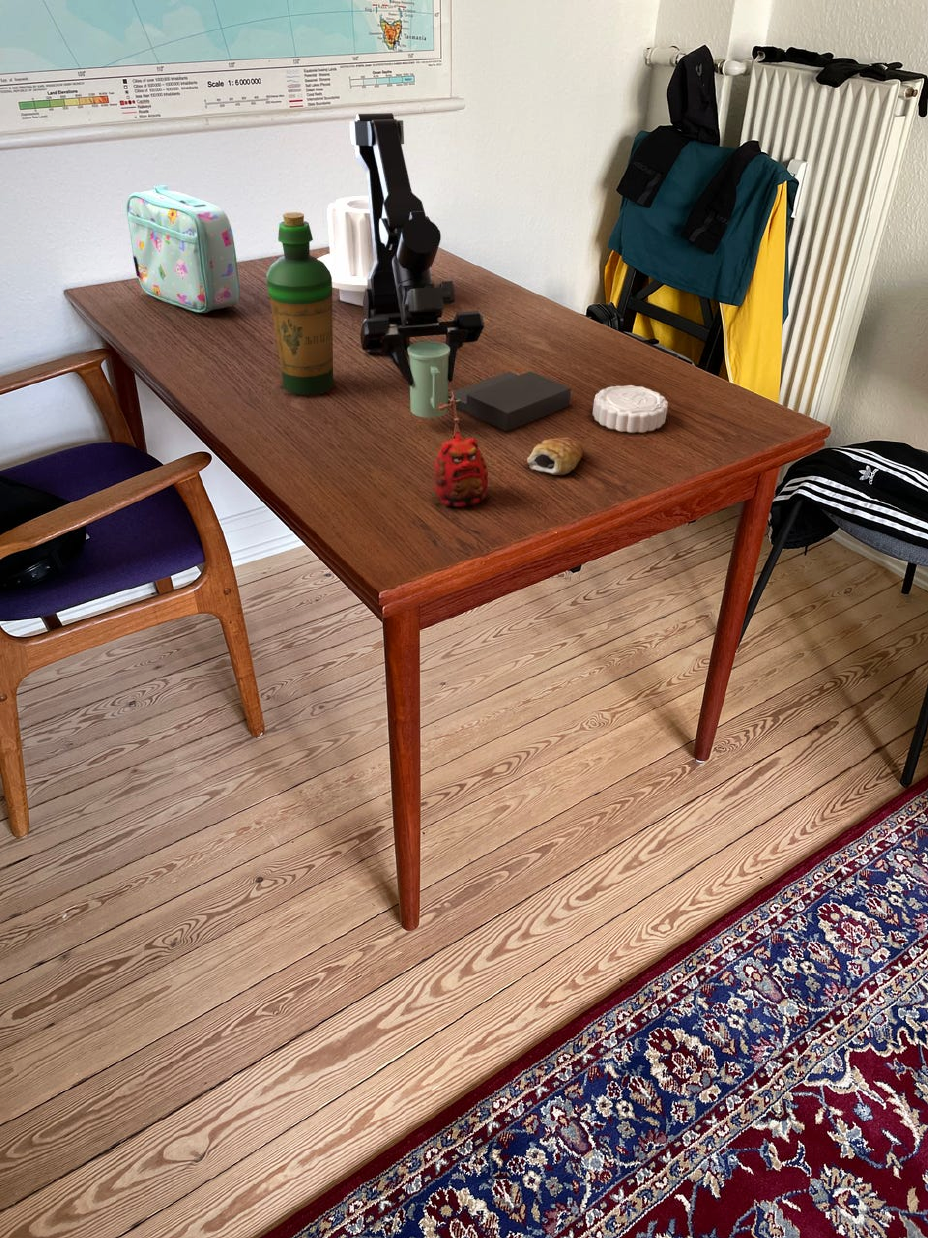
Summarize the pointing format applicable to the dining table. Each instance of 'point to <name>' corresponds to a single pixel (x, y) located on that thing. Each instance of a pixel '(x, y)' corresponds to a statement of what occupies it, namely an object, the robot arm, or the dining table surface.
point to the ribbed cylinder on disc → (350, 247)
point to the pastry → (556, 456)
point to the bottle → (301, 310)
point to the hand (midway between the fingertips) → (430, 383)
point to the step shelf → (512, 399)
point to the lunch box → (183, 250)
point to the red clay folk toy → (460, 468)
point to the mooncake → (630, 408)
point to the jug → (428, 378)
